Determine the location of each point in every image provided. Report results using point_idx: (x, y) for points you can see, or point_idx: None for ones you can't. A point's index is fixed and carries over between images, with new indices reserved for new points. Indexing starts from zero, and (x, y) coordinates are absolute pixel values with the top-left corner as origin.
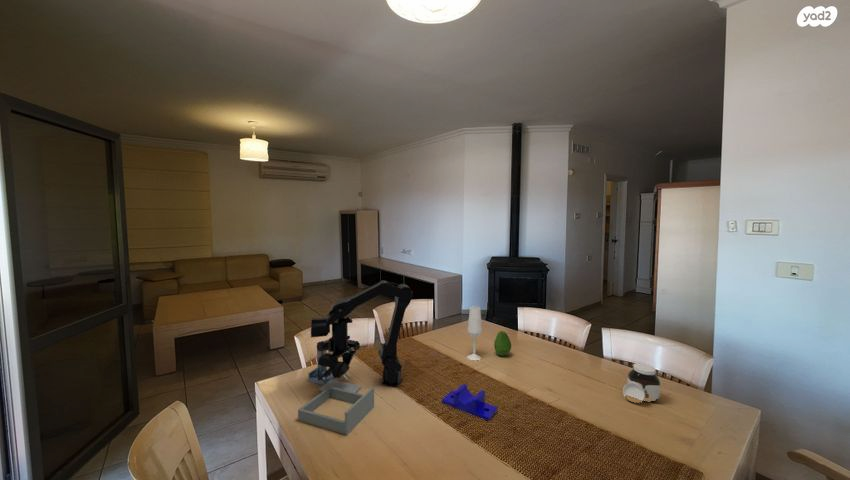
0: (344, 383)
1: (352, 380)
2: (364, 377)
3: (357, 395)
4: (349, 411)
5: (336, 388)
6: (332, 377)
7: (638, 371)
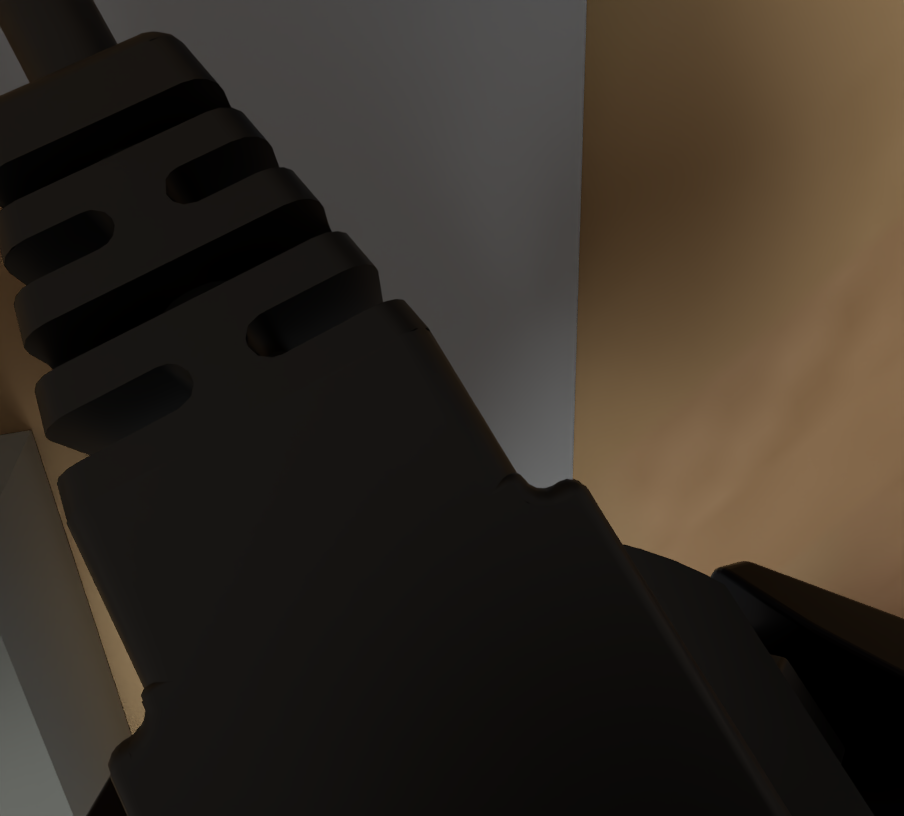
0: (540, 396)
1: (711, 385)
2: (835, 477)
3: None
4: None
5: (24, 777)
6: None
7: None
